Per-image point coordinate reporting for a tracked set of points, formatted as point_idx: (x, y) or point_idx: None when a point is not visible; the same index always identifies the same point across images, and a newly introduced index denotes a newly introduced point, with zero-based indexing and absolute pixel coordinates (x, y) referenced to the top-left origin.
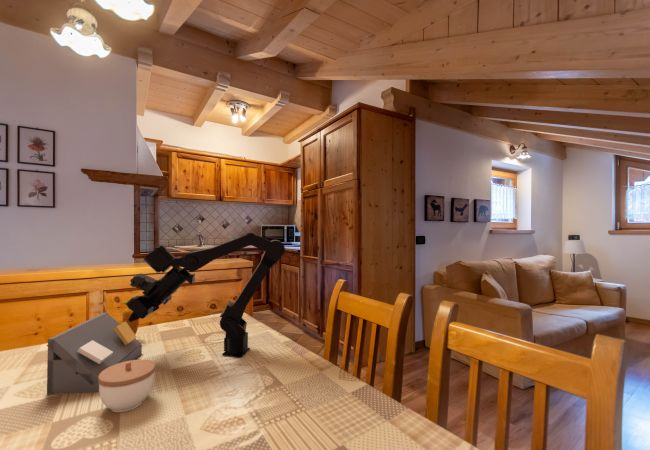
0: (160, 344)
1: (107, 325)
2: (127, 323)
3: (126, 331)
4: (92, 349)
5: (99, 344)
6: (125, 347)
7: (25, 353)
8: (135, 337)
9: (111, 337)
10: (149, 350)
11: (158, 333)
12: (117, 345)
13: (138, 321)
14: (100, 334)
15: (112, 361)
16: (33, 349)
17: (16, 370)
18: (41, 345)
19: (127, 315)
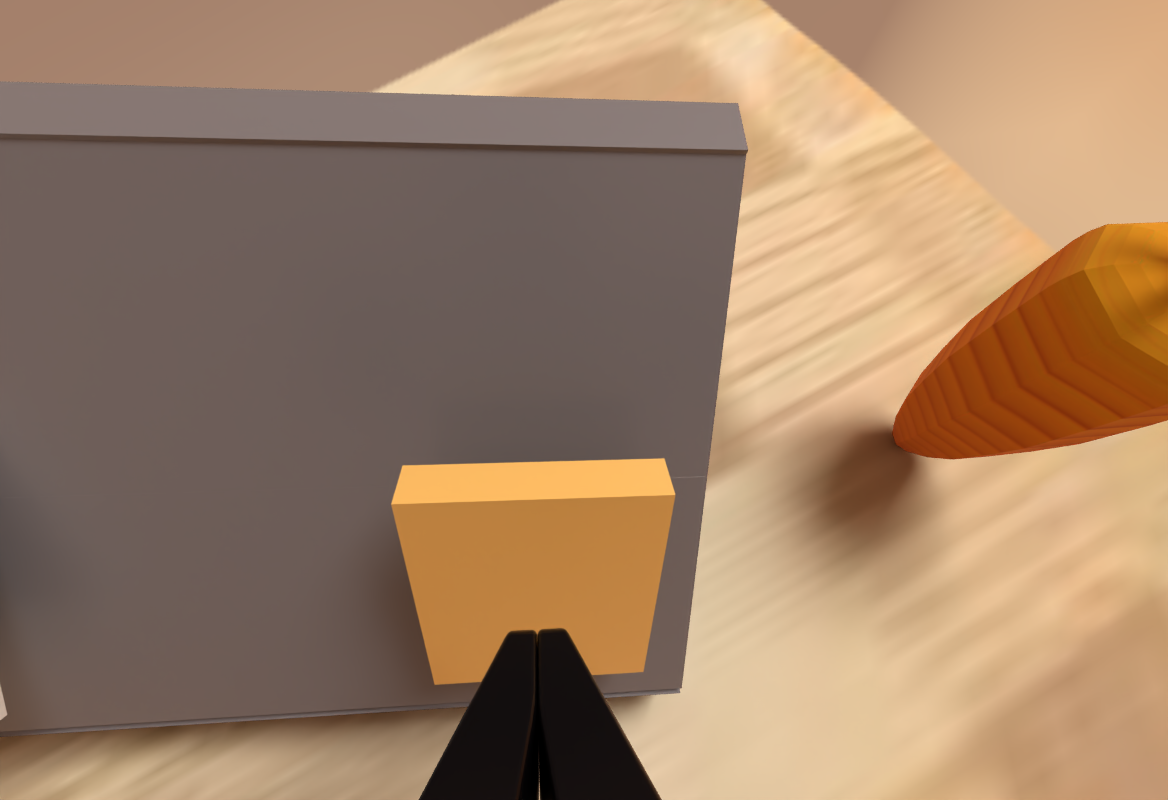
0: (876, 768)
1: (503, 336)
2: (971, 368)
3: (534, 598)
4: None
5: None
6: None
7: (662, 11)
8: (620, 669)
9: (387, 494)
10: (728, 726)
11: (1118, 594)
12: (364, 596)
13: (1079, 441)
14: (262, 397)
15: (134, 689)
16: (713, 12)
17: (454, 85)
18: (766, 14)
19: (1049, 320)
